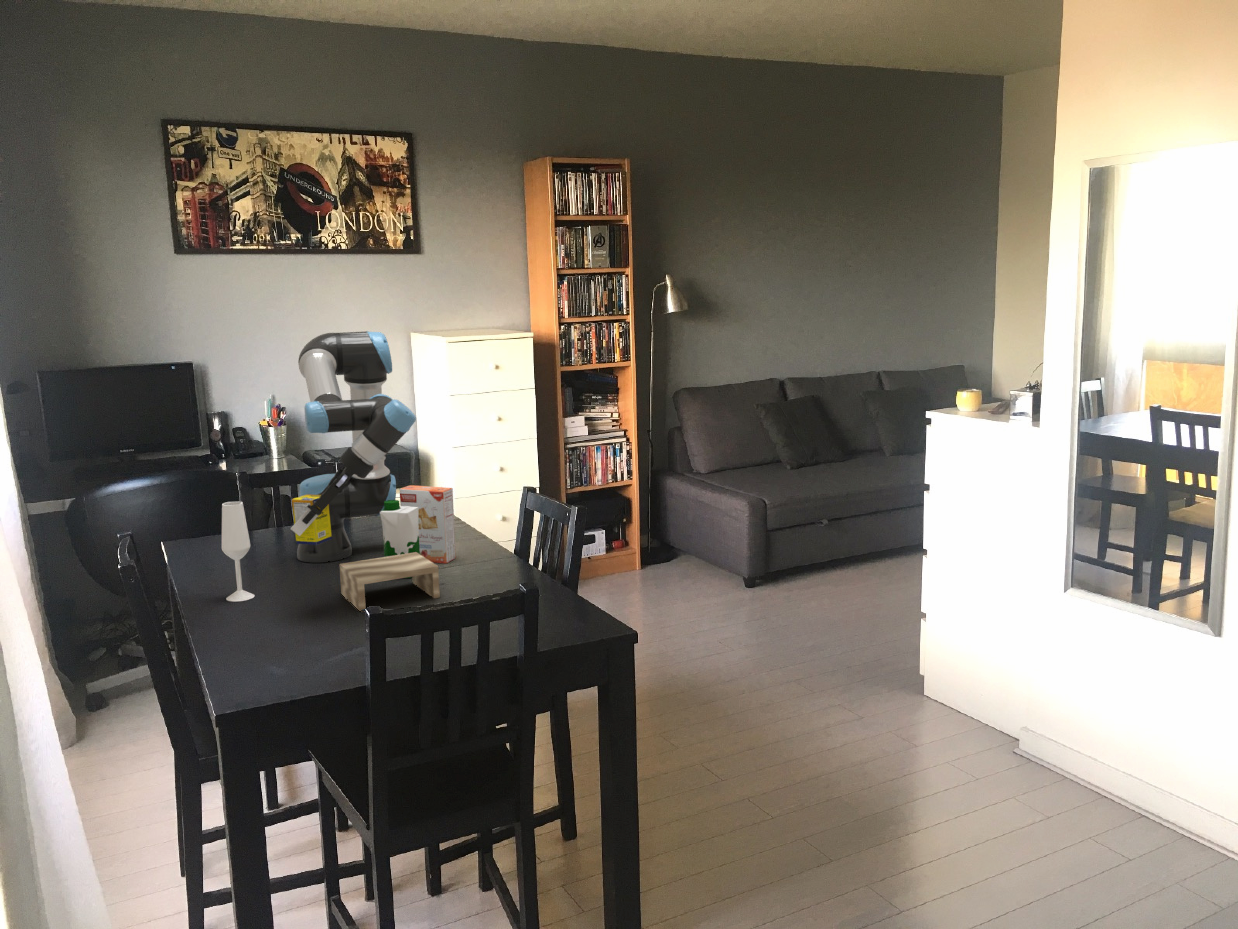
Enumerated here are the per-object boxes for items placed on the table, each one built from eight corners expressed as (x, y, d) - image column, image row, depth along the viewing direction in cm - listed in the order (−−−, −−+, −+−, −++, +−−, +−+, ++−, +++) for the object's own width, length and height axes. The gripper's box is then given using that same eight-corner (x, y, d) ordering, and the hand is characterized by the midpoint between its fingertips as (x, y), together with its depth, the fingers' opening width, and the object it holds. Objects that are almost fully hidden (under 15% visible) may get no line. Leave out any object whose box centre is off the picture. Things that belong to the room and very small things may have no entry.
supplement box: (332, 539, 231) (328, 494, 229) (316, 545, 226) (312, 499, 224) (311, 538, 233) (307, 493, 231) (295, 544, 228) (291, 498, 226)
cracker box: (402, 560, 274) (398, 488, 270) (413, 555, 279) (409, 484, 276) (446, 564, 269) (442, 490, 266) (456, 559, 275) (453, 486, 271)
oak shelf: (341, 594, 243) (339, 563, 242) (418, 581, 253) (416, 552, 252) (359, 611, 230) (357, 579, 228) (439, 597, 240) (438, 566, 238)
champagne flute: (226, 595, 244) (218, 502, 240) (254, 592, 247) (247, 499, 242) (225, 602, 238) (217, 507, 234) (254, 599, 240) (247, 505, 236)
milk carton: (394, 569, 265) (390, 497, 262) (425, 570, 264) (421, 498, 260) (380, 578, 257) (376, 504, 254) (412, 579, 255) (408, 505, 252)
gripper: (371, 474, 219) (304, 549, 219) (378, 459, 239) (316, 528, 239) (345, 452, 217) (277, 527, 217) (354, 439, 237) (292, 508, 237)
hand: (298, 527), depth 228 cm, fingers closed on supplement box, 8 cm apart
